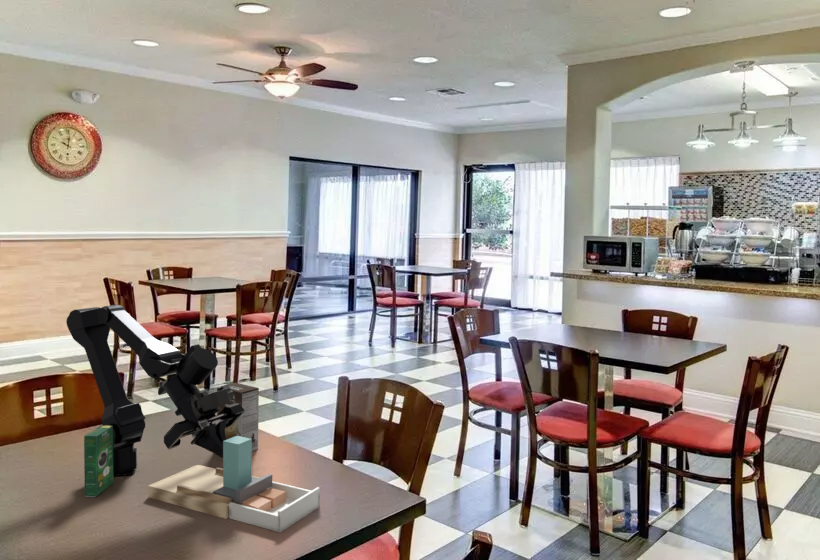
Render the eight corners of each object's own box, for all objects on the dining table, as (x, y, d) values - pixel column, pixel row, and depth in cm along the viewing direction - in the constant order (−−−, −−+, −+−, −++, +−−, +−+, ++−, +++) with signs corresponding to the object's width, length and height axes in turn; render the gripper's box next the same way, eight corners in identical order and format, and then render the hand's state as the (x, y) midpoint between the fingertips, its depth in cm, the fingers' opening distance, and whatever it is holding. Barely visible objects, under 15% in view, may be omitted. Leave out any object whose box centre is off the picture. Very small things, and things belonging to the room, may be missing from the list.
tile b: (241, 511, 130) (241, 502, 130) (254, 504, 134) (255, 495, 134) (257, 517, 128) (258, 507, 128) (270, 509, 132) (271, 500, 132)
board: (148, 497, 138) (148, 480, 138) (197, 475, 151) (197, 460, 150) (226, 518, 129) (225, 501, 128) (271, 493, 141) (271, 477, 141)
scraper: (212, 496, 133) (212, 445, 132) (246, 479, 142) (246, 431, 141) (240, 503, 130) (240, 451, 129) (272, 486, 138) (272, 437, 138)
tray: (228, 518, 129) (228, 498, 129) (271, 494, 141) (271, 476, 140) (280, 532, 124) (280, 511, 123) (319, 506, 135) (319, 487, 135)
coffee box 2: (215, 448, 169) (215, 386, 167) (234, 441, 174) (234, 381, 173) (241, 455, 164) (241, 392, 162) (259, 448, 169) (259, 387, 168)
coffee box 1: (101, 482, 145) (100, 423, 144) (114, 482, 145) (113, 424, 144) (83, 497, 137) (82, 435, 136) (97, 497, 137) (96, 435, 136)
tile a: (257, 504, 135) (257, 494, 135) (270, 497, 138) (270, 487, 138) (273, 508, 133) (273, 498, 133) (285, 500, 136) (285, 491, 136)
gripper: (173, 384, 130) (216, 448, 126) (238, 366, 146) (278, 423, 142) (145, 417, 134) (186, 480, 130) (211, 397, 150) (249, 452, 146)
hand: (227, 457), depth 137 cm, fingers closed
